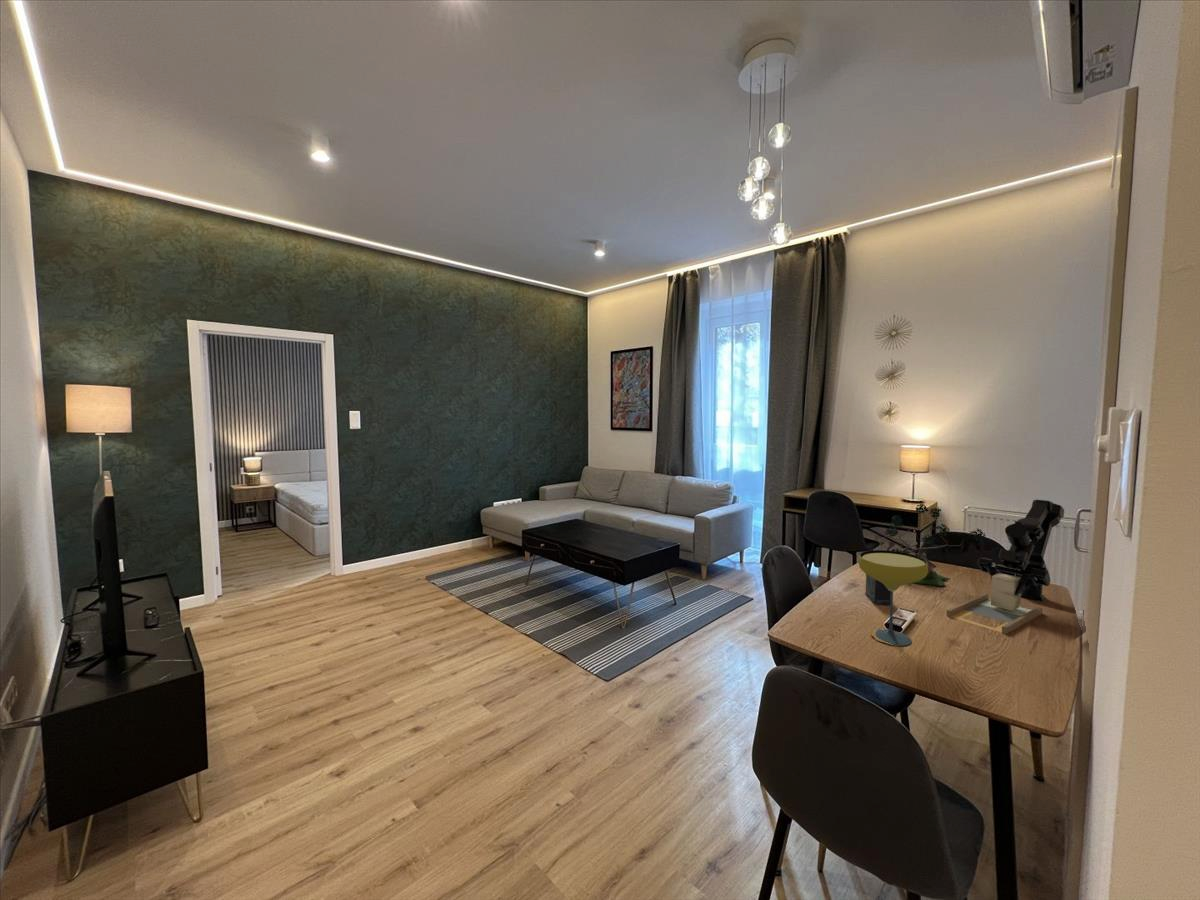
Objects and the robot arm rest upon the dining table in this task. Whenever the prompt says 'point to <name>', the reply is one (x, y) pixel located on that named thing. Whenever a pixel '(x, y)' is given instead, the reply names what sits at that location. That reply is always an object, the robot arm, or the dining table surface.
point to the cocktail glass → (893, 580)
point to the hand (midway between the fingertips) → (1004, 591)
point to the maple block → (1005, 591)
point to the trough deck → (993, 613)
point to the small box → (877, 591)
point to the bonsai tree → (931, 574)
